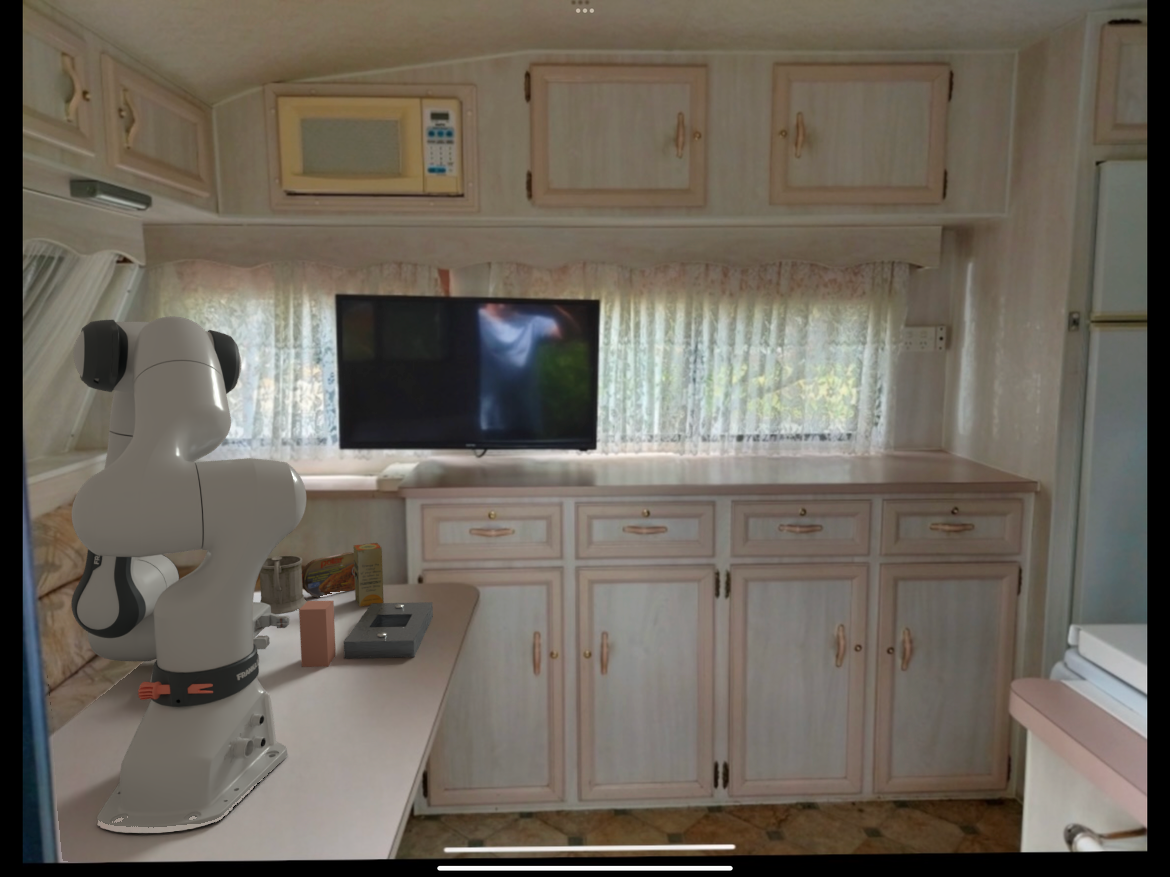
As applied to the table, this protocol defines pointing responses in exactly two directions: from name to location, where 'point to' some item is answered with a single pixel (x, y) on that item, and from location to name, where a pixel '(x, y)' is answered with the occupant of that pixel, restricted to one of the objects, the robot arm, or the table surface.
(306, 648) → the square peg
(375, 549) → the shoe polish box
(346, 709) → the table surface
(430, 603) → the block with square hole
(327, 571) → the tin
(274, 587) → the mug
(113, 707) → the table surface
